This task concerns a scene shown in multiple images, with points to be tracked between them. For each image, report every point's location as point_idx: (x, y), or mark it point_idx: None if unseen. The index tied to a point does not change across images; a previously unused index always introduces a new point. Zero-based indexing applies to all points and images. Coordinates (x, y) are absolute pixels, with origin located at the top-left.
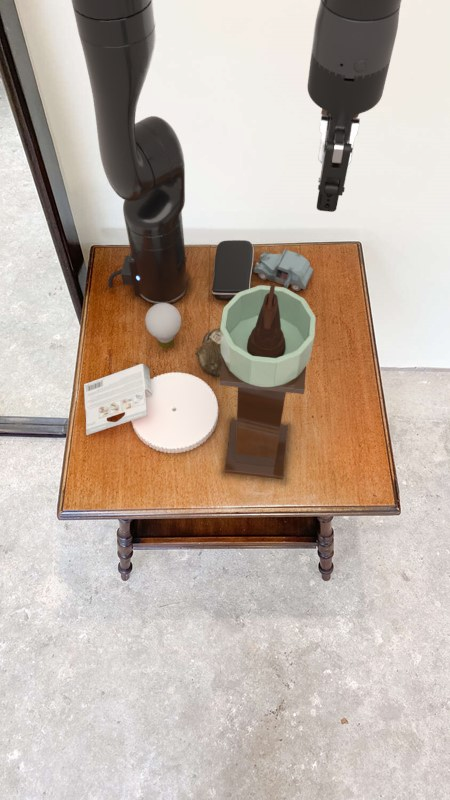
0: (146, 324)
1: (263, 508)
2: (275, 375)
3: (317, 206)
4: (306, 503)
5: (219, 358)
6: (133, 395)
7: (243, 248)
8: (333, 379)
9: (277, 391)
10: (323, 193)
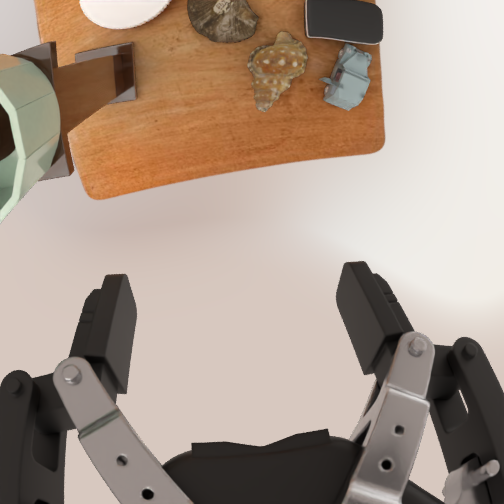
0: None
1: None
2: None
3: (103, 282)
4: (67, 134)
5: (199, 12)
6: None
7: (371, 32)
8: (206, 135)
9: None
10: (71, 349)
